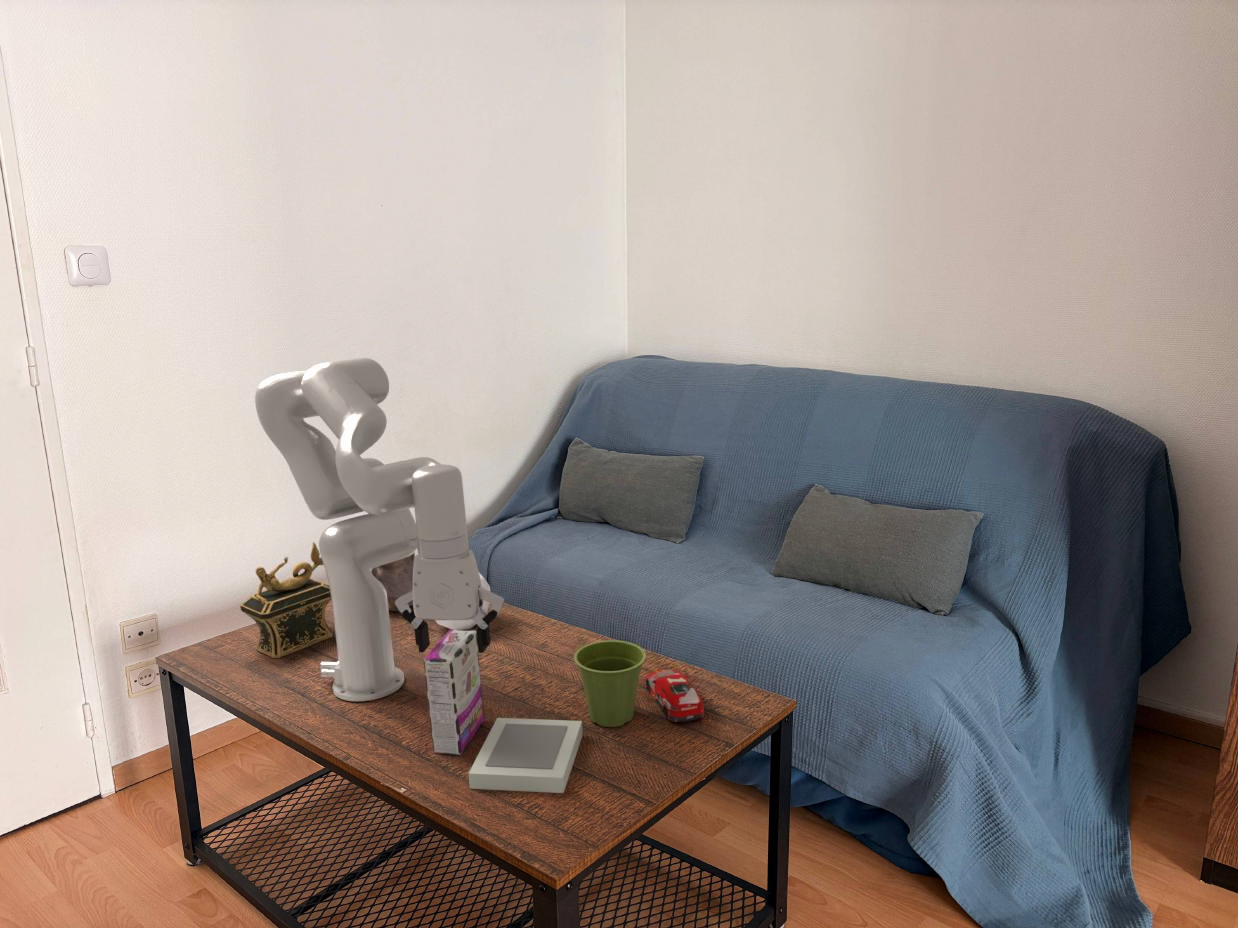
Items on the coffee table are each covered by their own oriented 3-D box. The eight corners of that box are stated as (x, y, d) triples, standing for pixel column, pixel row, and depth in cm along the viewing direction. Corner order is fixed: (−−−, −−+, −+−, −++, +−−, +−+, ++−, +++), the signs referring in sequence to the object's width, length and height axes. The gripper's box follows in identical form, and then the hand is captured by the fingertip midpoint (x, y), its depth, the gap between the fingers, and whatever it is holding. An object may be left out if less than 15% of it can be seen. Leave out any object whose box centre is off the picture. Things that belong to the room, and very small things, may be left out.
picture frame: (469, 788, 134) (468, 771, 133) (498, 731, 149) (497, 716, 148) (563, 792, 132) (562, 776, 131) (582, 734, 147) (581, 719, 146)
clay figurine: (403, 594, 210) (393, 489, 204) (436, 601, 205) (426, 494, 199) (361, 614, 199) (349, 504, 193) (395, 622, 194) (383, 510, 188)
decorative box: (270, 664, 176) (257, 568, 172) (244, 651, 183) (231, 558, 178) (358, 629, 191) (348, 540, 187) (331, 618, 197) (321, 532, 193)
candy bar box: (457, 718, 154) (449, 628, 150) (485, 720, 153) (478, 629, 149) (430, 754, 143) (421, 657, 139) (461, 756, 142) (452, 659, 138)
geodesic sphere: (400, 601, 191) (422, 558, 183) (449, 581, 201) (472, 540, 194) (441, 652, 186) (465, 611, 178) (489, 629, 196) (514, 589, 189)
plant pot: (592, 742, 145) (589, 677, 142) (566, 709, 155) (563, 648, 153) (659, 725, 149) (658, 661, 146) (630, 694, 160) (628, 634, 157)
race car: (642, 685, 164) (641, 659, 162) (677, 679, 165) (677, 654, 164) (669, 729, 148) (669, 701, 147) (708, 722, 150) (708, 695, 149)
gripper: (380, 553, 138) (392, 659, 141) (491, 552, 135) (501, 659, 139) (398, 538, 145) (410, 639, 149) (504, 537, 142) (513, 639, 146)
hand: (453, 649), depth 144 cm, fingers open, 9 cm apart
